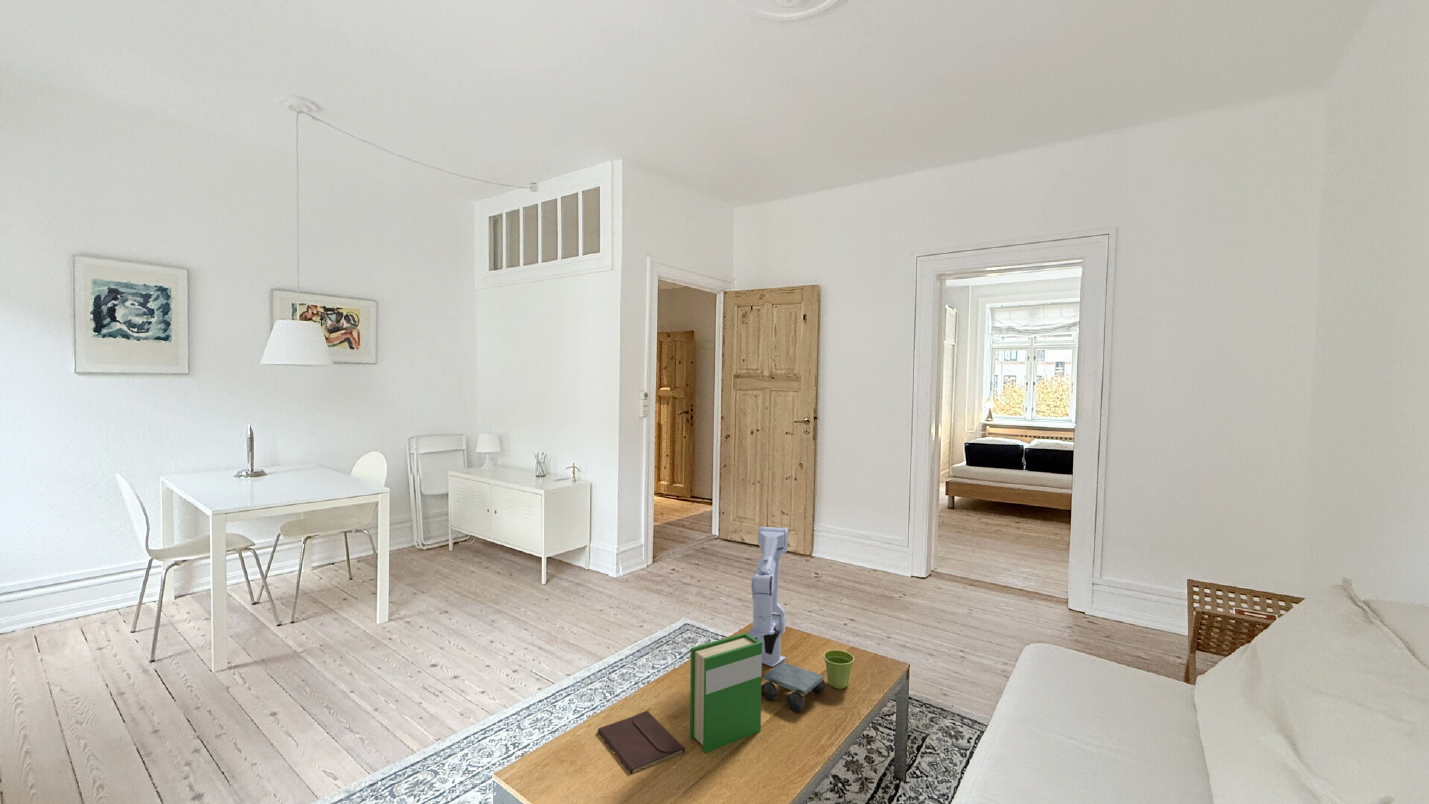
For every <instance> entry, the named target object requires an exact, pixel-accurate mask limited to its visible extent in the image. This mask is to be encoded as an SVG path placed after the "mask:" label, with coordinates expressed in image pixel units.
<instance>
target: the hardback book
mask: <svg viewBox="0 0 1429 804" xmlns="http://www.w3.org/2000/svg"><path fill="white" fill-rule="evenodd" d="M762 664H763V663H762V642H760V641H758V640H757V639H755V638H753V637H752V636H750V635H748V633H746V632H743V633H740V634H736V635H732V636H729V637H725V638H721V639H719V640H715V641H710V642H707V643H703V644H700V645H697V646H693V647H690V680H689V681H690V683H689V684H690V685H689V687H690V689H689V691H690V692H689V693H690V694H689V695H690V696H689V697H690V699H689V706H690V707H689V739H690V741H693V740H696V741H697V742H699V743H700V744H701V745H702V746H703V747H702V748H703V749H702V752H703V753H704V754H707V753H710V752H712V751H714V750H717V749H720V748H722V747H724V746H726V745H730V744H731V743H732V744H733V743H734V742H737V741H739V740H742V739H744V738H747V737H750V736H751V735H754V734H757V733H759V732H761V730H762V729H761V725H762V697H761V686H762V670H763V669H762V668H763V667H762Z"/></svg>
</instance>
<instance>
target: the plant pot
mask: <svg viewBox="0 0 1429 804" xmlns="http://www.w3.org/2000/svg"><path fill="white" fill-rule="evenodd" d="M822 656H823V659H824V662H825V667H826V677H827V684H828V686H831V687H833V688H834V689H839V690H840V689H841V690H842V689H845V688H846V687H848V686H849V682H850V675H851V671H852V666H853V665H854V662H855V656H854V655H853V654H851V653H850V652H848V651H845V650H839V649H832V650H827V651H825V652H824V653H823V655H822Z"/></svg>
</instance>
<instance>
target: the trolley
mask: <svg viewBox="0 0 1429 804" xmlns="http://www.w3.org/2000/svg"><path fill="white" fill-rule="evenodd" d="M763 680H765V681H766V682H764V683H763V684H761V694H762V696H763V697H762V698H763V699H764V700H765V701H767V702H773V701H774V700H775V699H777V697H778V689H777V686H776V685H778V686H780V687H782V688H785V689H788V690H790V691H792V692H791V693H789V695H787V697H786V703H787V706H788V708H789V709H790V710H791V711H792V712H794V713H799V712H801V711H802V710H803V709H804V708H805V705H806V702H805V699H804V696H805V695H807V694H808V693H809V692H812V693H814V694H815V695H820V694H822V693H823V692H824V691H825V690H826V686H827V685H826V682H825V680H824V675H822V674H820V673H816V672H813V671H810V670H807V669H805V668H802V667H799V666H796V665H793V664H791V663H787V662H785V661H781V662H780V663H778V664H777V665H775V666H774V667H773V668H771V670H769V671H767V672H766V673H765V674H763ZM803 695H804V696H803Z"/></svg>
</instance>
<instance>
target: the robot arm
mask: <svg viewBox="0 0 1429 804" xmlns="http://www.w3.org/2000/svg"><path fill="white" fill-rule="evenodd" d="M757 531H758V532H757V542H758V546H759V548H760V551H762V556H761V557H760V558H759V559H758V561H757V564H756V570H755V574H754V575H752V577H751V584H750V586H751V587H750V588H751V599H752V603H753V604H752V627H751V629H750V630H749V632H748V633H747V634H748V635H750V636H752V637H753V638H755V639H757V640H758V641H760V642H762V664H763V665H767V666H769V667H771V668H772V667H773V668H775V667H776V666H778V665H779V664H780V663H782V662H784V660H786V657H785V656H784V655H781V646H782V644H781V642H782V641H781V639H782V637H781V635H783V634H785V630H786V610H785V609H784V608H783V607H782V606H781V605H780V604H779V603H778V602H779V601H778V599H779V585H780V583H779V582H780V581H779V579H780V562H781V558H782V555H783V554H785V553H787V552H788V551H787V550H788V548H789V547H788V545H789V543H788V542H789V529H788V528H787V527H774V526H772V527H771V526H763V525H761V526H759V528H758V530H757Z"/></svg>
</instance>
